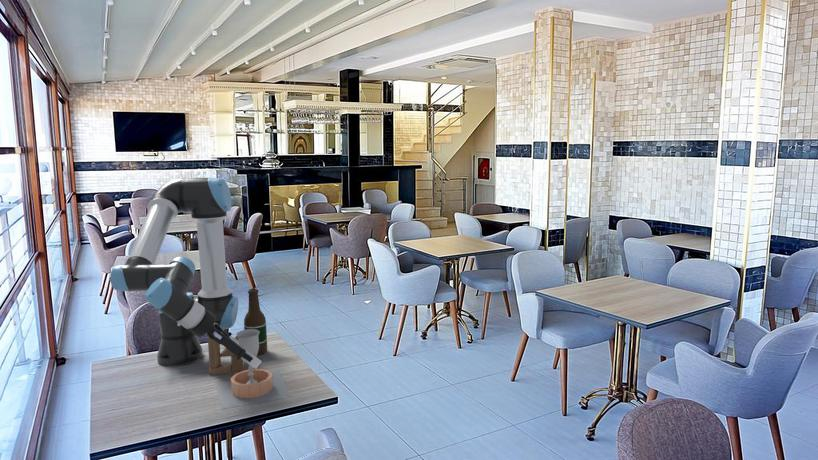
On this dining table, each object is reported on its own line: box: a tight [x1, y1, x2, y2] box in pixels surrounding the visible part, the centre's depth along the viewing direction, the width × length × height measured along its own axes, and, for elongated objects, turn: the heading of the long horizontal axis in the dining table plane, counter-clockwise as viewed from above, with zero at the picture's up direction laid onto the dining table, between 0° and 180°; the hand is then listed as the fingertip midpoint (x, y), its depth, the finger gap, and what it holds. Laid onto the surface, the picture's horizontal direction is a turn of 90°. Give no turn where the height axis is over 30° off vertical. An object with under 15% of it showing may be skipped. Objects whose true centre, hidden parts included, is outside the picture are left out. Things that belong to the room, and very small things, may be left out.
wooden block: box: [207, 323, 245, 376], centre depth 185 cm, size 4×11×18 cm, turn 104°
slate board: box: [215, 371, 292, 410], centre depth 172 cm, size 20×20×2 cm
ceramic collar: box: [230, 368, 273, 398], centre depth 171 cm, size 12×12×4 cm
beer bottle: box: [243, 288, 268, 357], centre depth 204 cm, size 8×8×24 cm
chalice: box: [236, 329, 260, 384], centre depth 170 cm, size 7×7×18 cm
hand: (251, 357), depth 170 cm, fingers open, 13 cm apart
